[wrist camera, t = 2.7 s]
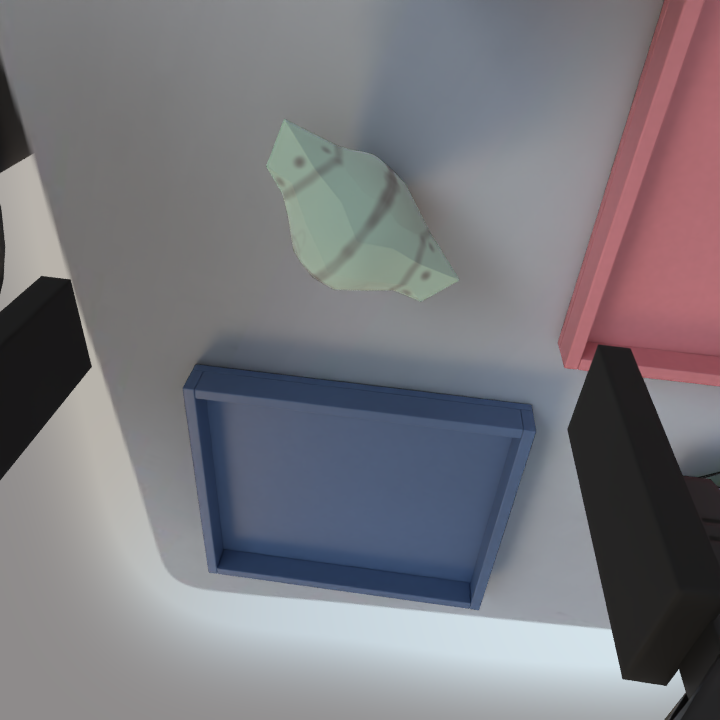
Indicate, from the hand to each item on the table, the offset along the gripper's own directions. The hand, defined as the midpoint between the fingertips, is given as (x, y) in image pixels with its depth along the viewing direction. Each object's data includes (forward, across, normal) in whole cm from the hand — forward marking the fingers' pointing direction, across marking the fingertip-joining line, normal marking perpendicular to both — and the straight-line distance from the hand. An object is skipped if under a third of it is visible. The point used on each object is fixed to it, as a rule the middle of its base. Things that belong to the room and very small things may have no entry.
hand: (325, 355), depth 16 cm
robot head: (+12, 0, 0) cm, 12 cm away
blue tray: (+12, 0, -18) cm, 21 cm away
